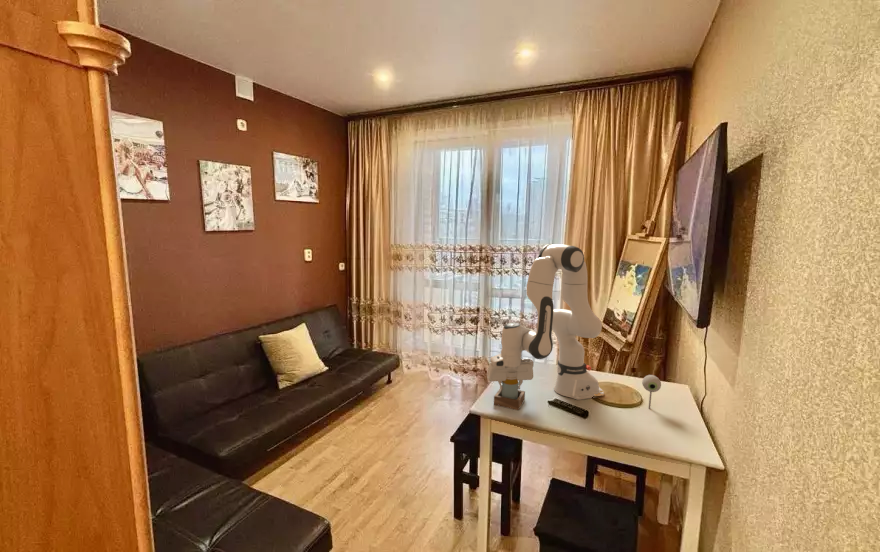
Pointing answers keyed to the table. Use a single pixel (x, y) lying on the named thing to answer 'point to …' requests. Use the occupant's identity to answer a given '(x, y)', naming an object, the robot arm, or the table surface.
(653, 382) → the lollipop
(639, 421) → the table surface
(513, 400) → the pocket
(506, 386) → the bottle
